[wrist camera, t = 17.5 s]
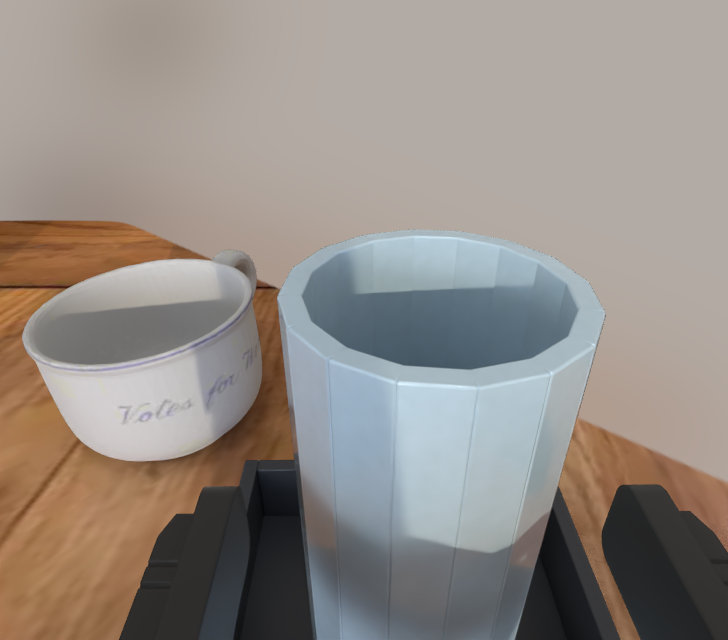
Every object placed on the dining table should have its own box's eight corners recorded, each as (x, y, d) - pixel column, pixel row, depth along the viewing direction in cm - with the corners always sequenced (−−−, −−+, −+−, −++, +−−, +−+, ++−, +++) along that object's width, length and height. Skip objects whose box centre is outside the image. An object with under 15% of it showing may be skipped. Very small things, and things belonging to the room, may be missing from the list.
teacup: (153, 532, 24) (107, 395, 19) (31, 436, 29) (-27, 312, 25) (338, 375, 33) (333, 262, 29) (221, 325, 39) (203, 223, 34)
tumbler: (281, 699, 18) (209, 320, 10) (371, 549, 22) (373, 213, 14) (462, 823, 15) (567, 439, 7) (520, 623, 20) (622, 260, 12)
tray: (162, 946, 13) (130, 911, 11) (254, 512, 25) (244, 459, 23) (680, 943, 13) (730, 908, 11) (534, 510, 25) (547, 457, 23)
